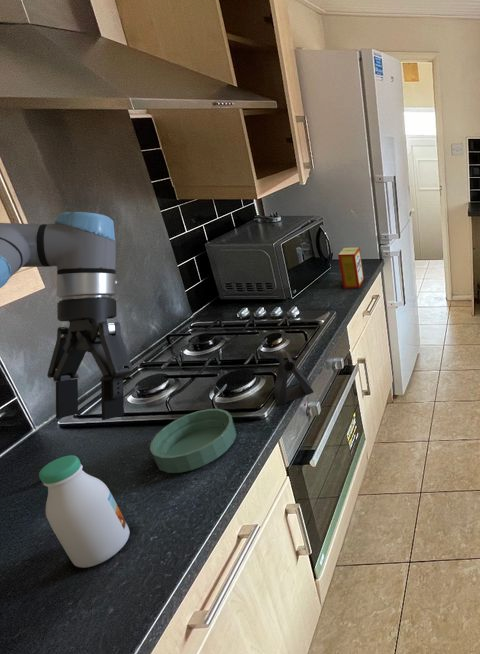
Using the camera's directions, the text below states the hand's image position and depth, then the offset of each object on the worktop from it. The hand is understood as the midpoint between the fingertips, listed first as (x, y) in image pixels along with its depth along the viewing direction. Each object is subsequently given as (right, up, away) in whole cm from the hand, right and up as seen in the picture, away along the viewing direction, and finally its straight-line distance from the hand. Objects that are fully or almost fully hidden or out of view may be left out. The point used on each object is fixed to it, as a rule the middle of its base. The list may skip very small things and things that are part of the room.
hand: (89, 417), depth 74 cm
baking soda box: (+5, +20, +111) cm, 113 cm away
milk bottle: (+1, -24, +1) cm, 24 cm away
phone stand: (+15, -8, +41) cm, 45 cm away
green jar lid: (+2, -15, +23) cm, 28 cm away
